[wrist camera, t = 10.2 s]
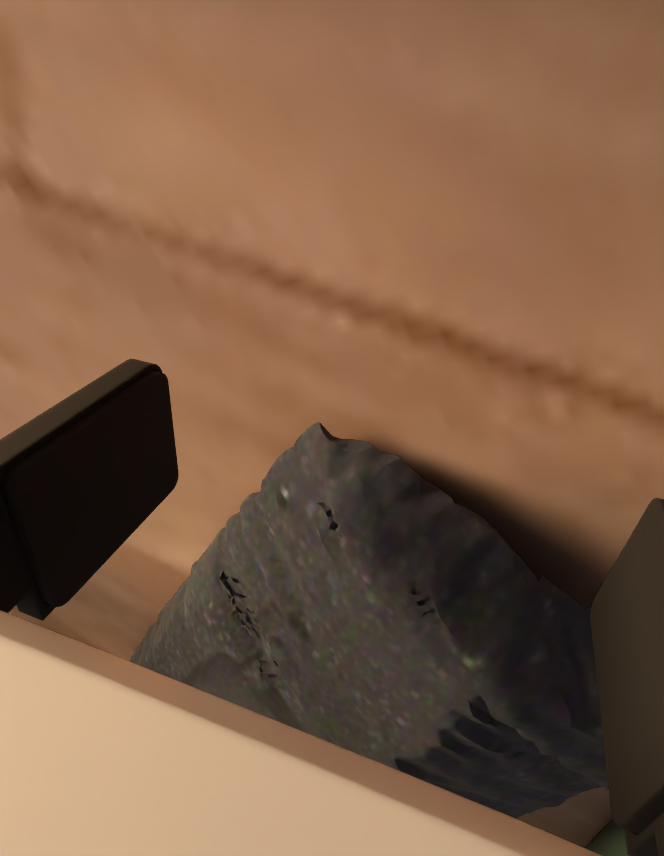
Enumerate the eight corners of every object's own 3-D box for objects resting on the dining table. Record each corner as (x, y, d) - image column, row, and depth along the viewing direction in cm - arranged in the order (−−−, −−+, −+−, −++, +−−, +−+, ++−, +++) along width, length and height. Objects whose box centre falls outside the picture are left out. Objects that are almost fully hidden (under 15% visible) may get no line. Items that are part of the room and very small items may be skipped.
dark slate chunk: (788, 707, 14) (885, 940, 10) (359, 838, 27) (328, 959, 23) (323, 366, 13) (232, 470, 9) (120, 670, 26) (48, 764, 22)
